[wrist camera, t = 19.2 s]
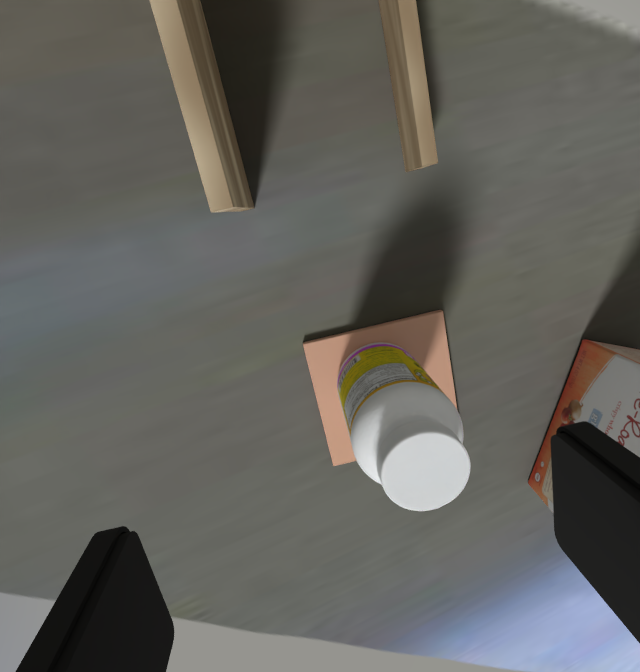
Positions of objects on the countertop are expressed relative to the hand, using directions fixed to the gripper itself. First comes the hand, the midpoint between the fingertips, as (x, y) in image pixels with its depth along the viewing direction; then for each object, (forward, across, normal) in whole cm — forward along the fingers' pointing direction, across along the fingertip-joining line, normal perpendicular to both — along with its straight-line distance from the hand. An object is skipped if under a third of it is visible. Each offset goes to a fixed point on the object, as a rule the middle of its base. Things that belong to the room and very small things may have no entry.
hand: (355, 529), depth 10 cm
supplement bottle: (+24, -4, +7) cm, 25 cm away
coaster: (+24, -5, +8) cm, 26 cm away
